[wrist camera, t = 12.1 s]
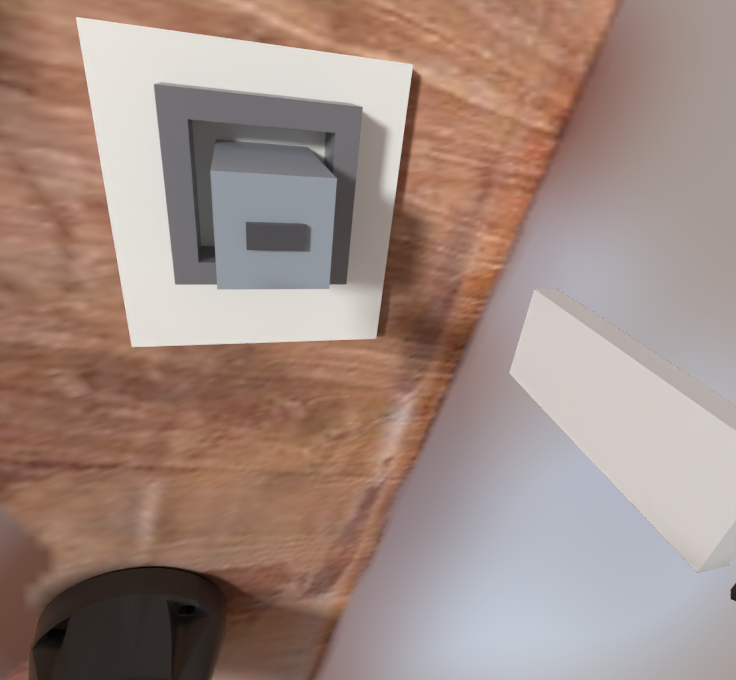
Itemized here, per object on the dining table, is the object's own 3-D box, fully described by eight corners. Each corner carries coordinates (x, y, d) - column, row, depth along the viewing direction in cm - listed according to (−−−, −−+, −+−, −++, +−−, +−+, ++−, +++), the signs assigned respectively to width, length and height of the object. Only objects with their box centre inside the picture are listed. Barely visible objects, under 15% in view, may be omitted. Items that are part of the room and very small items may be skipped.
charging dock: (372, 331, 32) (386, 358, 29) (134, 338, 28) (123, 370, 25) (406, 64, 24) (431, 64, 21) (82, 19, 20) (57, 11, 17)
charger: (303, 231, 26) (330, 291, 19) (220, 229, 25) (217, 292, 18) (306, 146, 24) (338, 180, 17) (215, 139, 22) (210, 172, 16)
